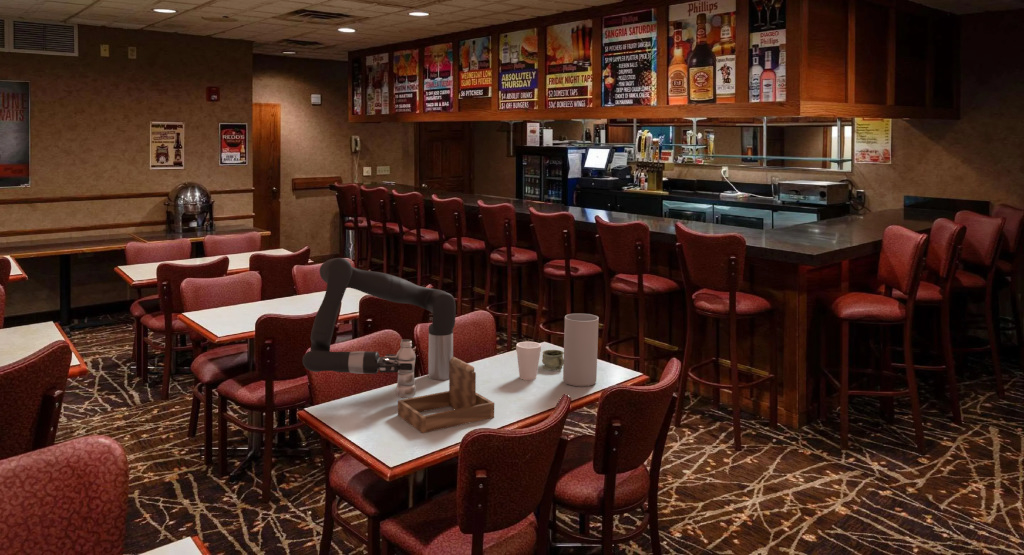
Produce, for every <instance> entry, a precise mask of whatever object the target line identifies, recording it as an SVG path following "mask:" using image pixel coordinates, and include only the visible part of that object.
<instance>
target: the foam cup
mask: <svg viewBox="0 0 1024 555" xmlns="http://www.w3.org/2000/svg"><path fill="white" fill-rule="evenodd" d="M515 352H516V355H517V365H518V374H519V375H518V376H519V379H520V378H521V379H520V380H522V379H524V380H523V381H535V380H536V379H537V375H538V369H539V363H540V356H541V352H542V344H541V343H539V342H535V341H520V342H518V343H516V347H515Z"/></svg>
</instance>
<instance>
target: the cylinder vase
mask: <svg viewBox="0 0 1024 555" xmlns="http://www.w3.org/2000/svg"><path fill="white" fill-rule="evenodd" d="M599 318H600V317H599V316H598V315H594V314H591V313H569V314H566V315H565V316H564V334H563V337H564V339H563V352H564V354H563V359H564V364H563V366H562V369H563V370H562V374H563V375H562V376H563V377H562V380H563V381H562V382H564V383H565V384H566V385H569V386H572V387H581V388H582V387H584V386H585V387H590V385H591V386H593V385H594V384H596V382H597V371H598V369H597V367H598V345H599V344H598V343H599V341H598V340H599ZM585 387H584V388H585Z"/></svg>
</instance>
